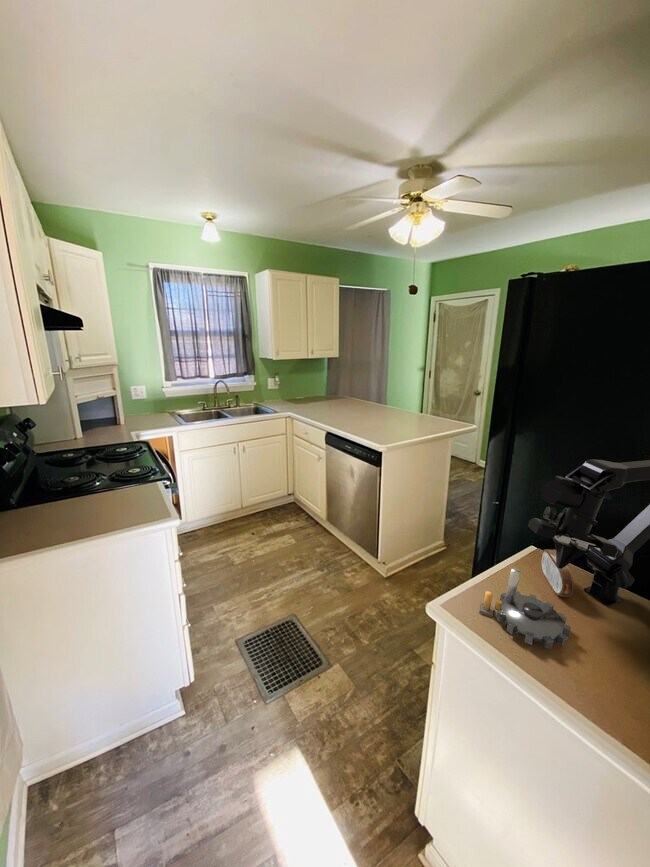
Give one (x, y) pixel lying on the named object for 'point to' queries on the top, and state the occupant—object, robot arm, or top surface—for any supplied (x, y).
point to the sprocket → (530, 616)
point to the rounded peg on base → (487, 605)
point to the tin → (556, 574)
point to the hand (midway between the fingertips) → (558, 567)
